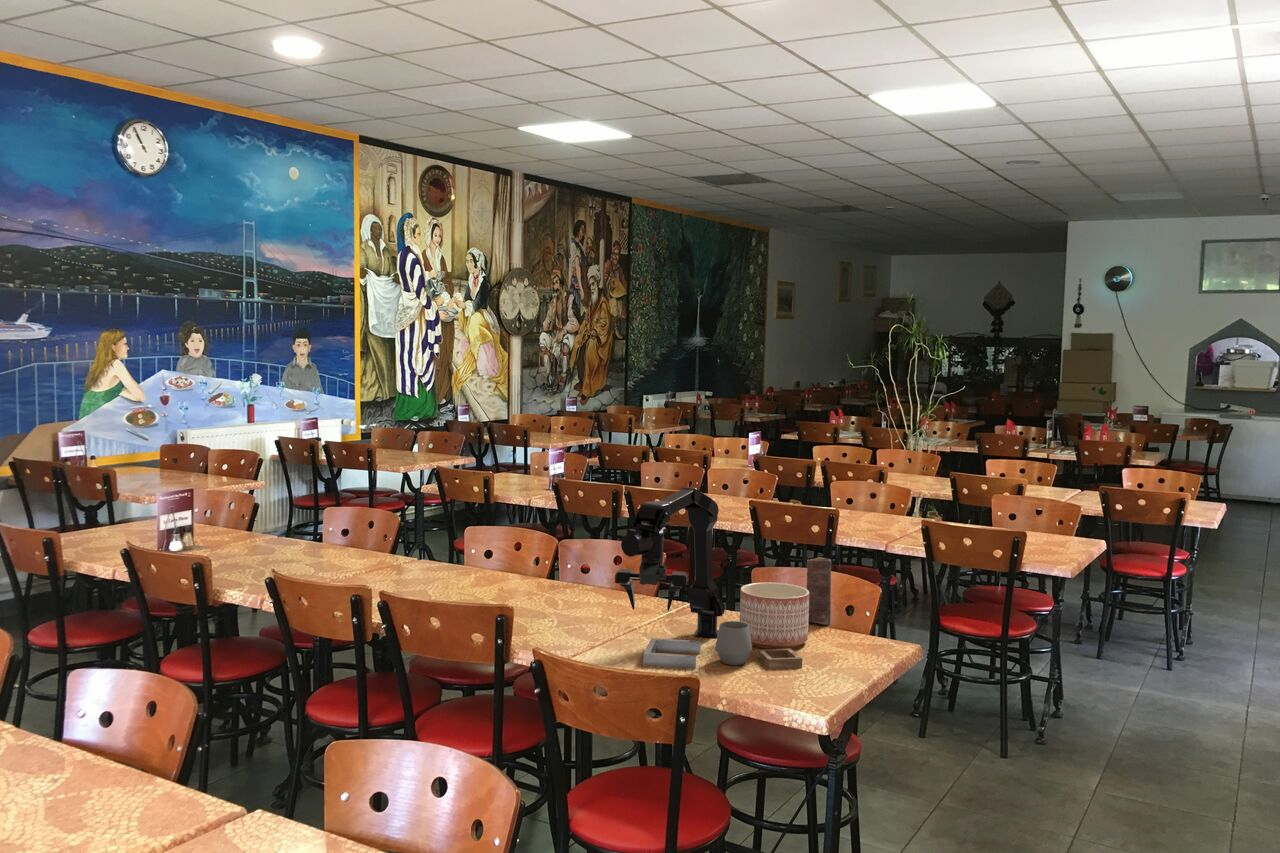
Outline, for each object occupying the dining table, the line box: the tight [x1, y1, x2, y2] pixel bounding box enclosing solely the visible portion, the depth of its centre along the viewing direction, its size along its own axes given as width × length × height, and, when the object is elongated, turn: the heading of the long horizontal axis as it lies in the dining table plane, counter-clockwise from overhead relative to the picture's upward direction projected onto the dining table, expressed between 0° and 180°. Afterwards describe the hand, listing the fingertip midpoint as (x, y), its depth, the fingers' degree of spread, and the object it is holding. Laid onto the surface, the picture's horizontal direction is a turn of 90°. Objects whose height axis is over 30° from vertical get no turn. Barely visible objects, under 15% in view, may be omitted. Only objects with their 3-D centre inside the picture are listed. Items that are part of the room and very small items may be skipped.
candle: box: [806, 556, 832, 626], centre depth 300 cm, size 8×7×20 cm
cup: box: [715, 620, 753, 666], centre depth 260 cm, size 10×9×10 cm
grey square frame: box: [642, 637, 702, 670], centre depth 262 cm, size 14×15×3 cm
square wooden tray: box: [757, 648, 803, 670], centre depth 260 cm, size 9×9×2 cm
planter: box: [739, 582, 809, 649], centre depth 280 cm, size 19×19×15 cm
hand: (650, 609), depth 261 cm, fingers open, 9 cm apart
